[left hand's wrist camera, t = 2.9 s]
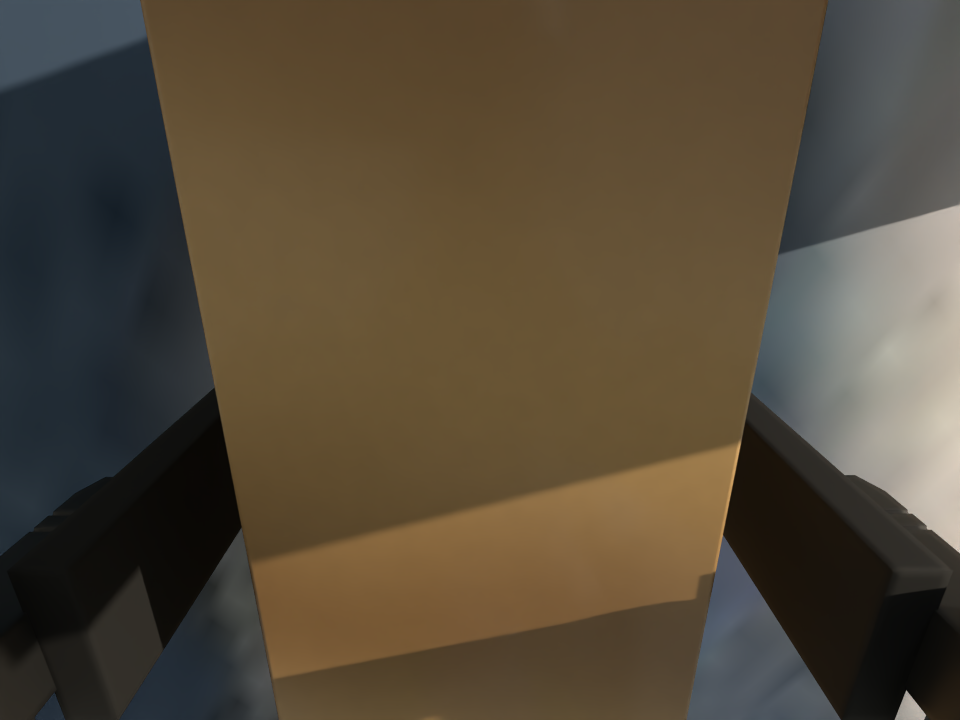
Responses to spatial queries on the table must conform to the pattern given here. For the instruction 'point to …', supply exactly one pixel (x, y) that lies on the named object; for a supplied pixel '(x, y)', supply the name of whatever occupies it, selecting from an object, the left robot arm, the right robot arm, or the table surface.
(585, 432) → the post
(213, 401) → the left robot arm
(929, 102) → the table surface
